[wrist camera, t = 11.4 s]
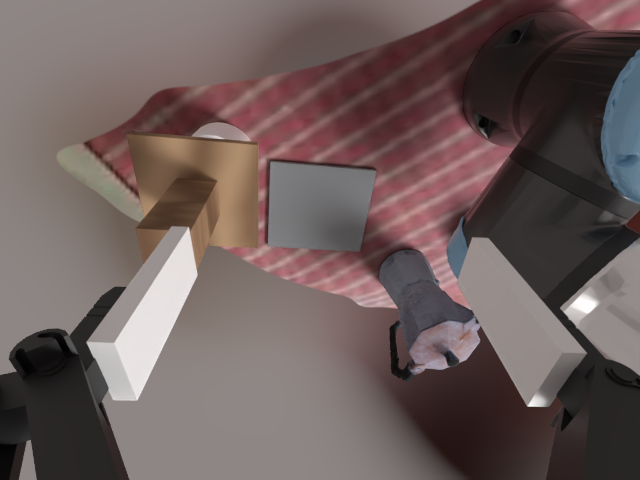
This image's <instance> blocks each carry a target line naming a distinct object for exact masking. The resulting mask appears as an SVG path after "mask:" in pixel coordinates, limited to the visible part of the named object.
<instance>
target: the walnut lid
mask: <svg viewBox="0 0 640 480" xmlns="http://www.w3.org/2000/svg"><path fill="white" fill-rule="evenodd" d="M127 138H128V143H129V147H130V152H131V157H132V162H133V167H134V171H135V176H136V181H137V186H138V191H139V195H140V200H141V205H142V210H143V215H144V219H143V220H142V221H141V222H140V224H139V225H138V226H137V227H136V232H137V237H138V242H139V246H140V250H141V255H142V259H143V263H145V262H146V260H147V259H148V258H149V256H150V255H151V254H152V252H153V251H154V250H155V248H156V247H157V246H158V244H159V243H160V241H161V240H162V239H163V237H164V236H165V235H166V233H167V232H168V231H169V229H170V228H171V227H172V226H177V227H189V231H190V236H191V242H192V247H193V253H194V259H195V264H196V270H197V268H198V265H199V264H200V261H201V259H202V256H203V254H204V252H205V249H206V247H207V245H212V246H230V247H249V248H257V247H258V142H252V141H240V140H228V139H216V138H204V137H192V136H180V135H168V134H157V133H145V132H133V131H131V132H130V133H128V134H127Z"/></svg>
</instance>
